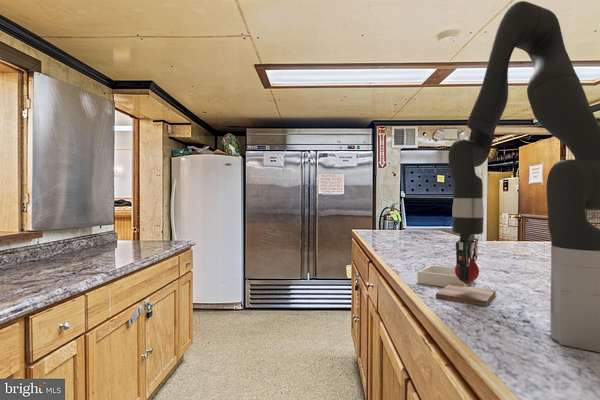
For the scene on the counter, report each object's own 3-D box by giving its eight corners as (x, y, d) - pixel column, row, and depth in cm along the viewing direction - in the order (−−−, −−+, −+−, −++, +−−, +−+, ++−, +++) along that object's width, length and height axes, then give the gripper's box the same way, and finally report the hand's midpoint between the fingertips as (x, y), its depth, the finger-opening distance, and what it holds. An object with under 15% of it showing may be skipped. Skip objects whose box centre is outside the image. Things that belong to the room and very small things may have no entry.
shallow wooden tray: (463, 289, 107) (464, 277, 107) (417, 282, 114) (417, 271, 114) (473, 281, 117) (474, 269, 117) (430, 275, 125) (430, 265, 125)
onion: (453, 285, 98) (454, 255, 98) (456, 281, 103) (456, 252, 103) (478, 288, 95) (478, 256, 95) (479, 283, 100) (479, 253, 100)
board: (486, 306, 90) (486, 301, 90) (435, 298, 97) (435, 293, 97) (495, 294, 101) (495, 290, 101) (449, 288, 108) (449, 284, 108)
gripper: (477, 217, 91) (476, 286, 91) (488, 214, 102) (487, 276, 103) (445, 216, 95) (444, 281, 95) (459, 214, 107) (459, 272, 107)
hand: (467, 278), depth 99 cm, fingers closed on onion, 6 cm apart
